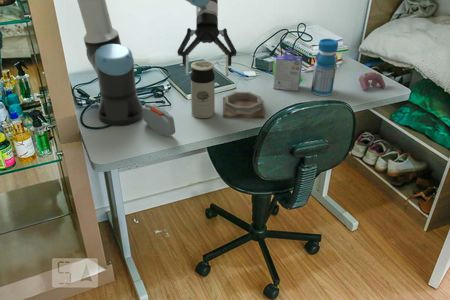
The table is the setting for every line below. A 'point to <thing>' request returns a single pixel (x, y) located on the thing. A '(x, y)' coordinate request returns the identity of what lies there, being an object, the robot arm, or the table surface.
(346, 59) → the table surface
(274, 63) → the puzzle toy
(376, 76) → the pink arch
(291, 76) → the ink cartridge box
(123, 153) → the table surface
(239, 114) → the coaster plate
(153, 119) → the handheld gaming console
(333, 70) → the beverage bottle
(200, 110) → the travel mug
